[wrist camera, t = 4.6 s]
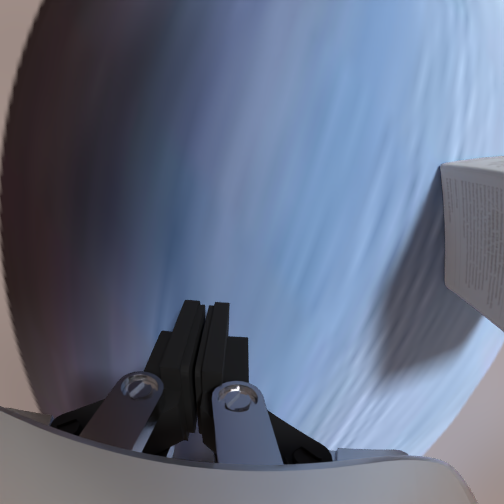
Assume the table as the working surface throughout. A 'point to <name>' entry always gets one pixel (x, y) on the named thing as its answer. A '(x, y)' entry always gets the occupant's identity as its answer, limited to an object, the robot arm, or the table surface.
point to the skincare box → (475, 233)
